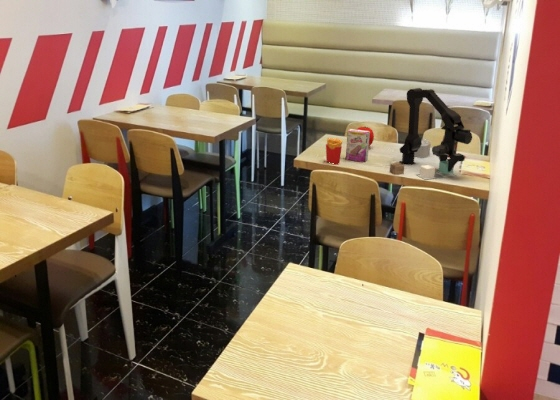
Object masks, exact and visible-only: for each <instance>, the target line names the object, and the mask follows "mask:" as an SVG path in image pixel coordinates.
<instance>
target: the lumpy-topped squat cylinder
mask: <svg viewBox="0 0 560 400" xmlns="http://www.w3.org/2000/svg"><path fill="white" fill-rule="evenodd" d="M421 142H422V145H421V147H420V148H419V149H418V151H417V152H414V153H415V154H414V158H419V159H427V158H428V157H430V153H431V145H432V144H431V141H430V140H428V139H426V138H424V139H423V138H422V141H421Z"/></svg>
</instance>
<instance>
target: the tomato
mask: <svg viewBox="0 0 560 400" xmlns="http://www.w3.org/2000/svg"><path fill="white" fill-rule="evenodd" d="M356 130H364V131H370V136H369V147H370V146H371V145H372V144H373V143H374V139H375V134H374V131H373V129H372V128H371V127H368V126H367V127H366V126H360V127H358V128H357V129H356Z"/></svg>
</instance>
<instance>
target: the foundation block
mask: <svg viewBox="0 0 560 400" xmlns="http://www.w3.org/2000/svg"><path fill="white" fill-rule="evenodd" d="M435 172H436V167H434V166H433V165H431V164H425V165H420V169H419V174H420V176H422V177H423V178H425V179H427V178H434V174H435Z"/></svg>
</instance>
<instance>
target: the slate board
mask: <svg viewBox="0 0 560 400" xmlns="http://www.w3.org/2000/svg"><path fill="white" fill-rule="evenodd" d="M415 176H416V177H419V178H420V179H422V180H424V181H430V180H437V179H445V178H446V179H447V178H454V177H457V175H456V174H454V173H449V174H443V173H441V172H439V171H435V174H434V178H427V179H425V178H423V177H422V176H420V173H417V174H415Z"/></svg>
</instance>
